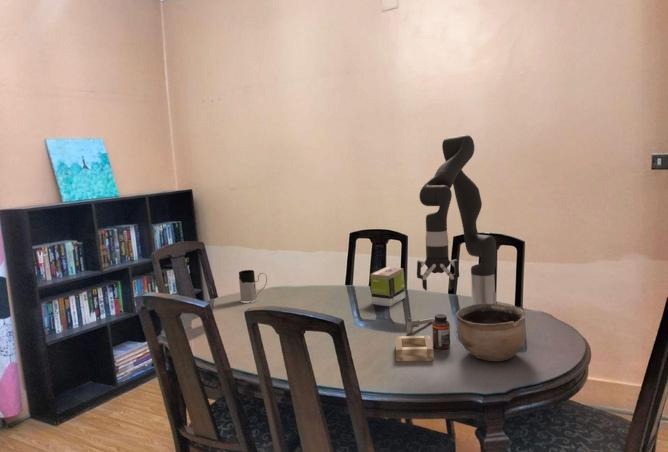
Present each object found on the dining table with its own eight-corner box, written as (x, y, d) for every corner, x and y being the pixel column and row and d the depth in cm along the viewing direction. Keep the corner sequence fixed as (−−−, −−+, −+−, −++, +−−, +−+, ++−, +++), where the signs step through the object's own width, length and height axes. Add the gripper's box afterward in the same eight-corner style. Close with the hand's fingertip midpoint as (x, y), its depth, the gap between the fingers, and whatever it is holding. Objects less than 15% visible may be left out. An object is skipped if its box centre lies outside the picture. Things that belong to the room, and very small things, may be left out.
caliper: (409, 335, 183) (408, 319, 182) (406, 335, 184) (406, 319, 183) (437, 320, 198) (437, 305, 197) (435, 320, 199) (435, 305, 198)
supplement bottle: (430, 344, 173) (429, 313, 172) (447, 342, 174) (446, 312, 172) (435, 350, 167) (434, 318, 166) (452, 348, 168) (451, 317, 166)
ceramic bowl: (518, 375, 145) (517, 327, 143) (447, 363, 157) (446, 318, 155) (532, 349, 164) (531, 306, 162) (468, 339, 175) (467, 299, 173)
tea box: (387, 295, 237) (386, 266, 235) (405, 298, 231) (404, 267, 229) (371, 304, 225) (369, 273, 223) (390, 307, 219) (388, 275, 217)
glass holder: (240, 299, 247) (238, 270, 245) (268, 296, 248) (266, 268, 246) (239, 304, 238) (236, 274, 236) (268, 301, 239) (266, 272, 237)
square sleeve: (430, 346, 171) (429, 335, 171) (433, 360, 159) (433, 348, 159) (395, 347, 172) (395, 336, 172) (396, 361, 161) (396, 349, 160)
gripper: (456, 241, 169) (457, 286, 171) (415, 242, 171) (416, 287, 173) (459, 244, 162) (460, 292, 164) (416, 246, 163) (417, 293, 165)
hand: (438, 289), depth 168 cm, fingers open, 8 cm apart
